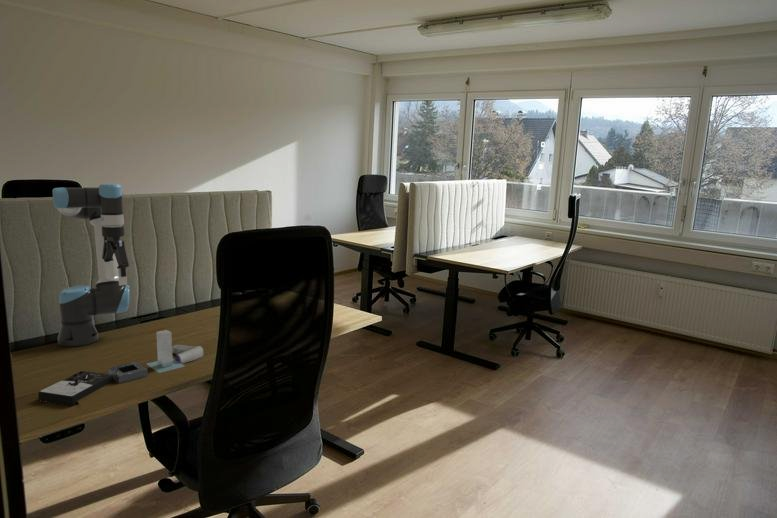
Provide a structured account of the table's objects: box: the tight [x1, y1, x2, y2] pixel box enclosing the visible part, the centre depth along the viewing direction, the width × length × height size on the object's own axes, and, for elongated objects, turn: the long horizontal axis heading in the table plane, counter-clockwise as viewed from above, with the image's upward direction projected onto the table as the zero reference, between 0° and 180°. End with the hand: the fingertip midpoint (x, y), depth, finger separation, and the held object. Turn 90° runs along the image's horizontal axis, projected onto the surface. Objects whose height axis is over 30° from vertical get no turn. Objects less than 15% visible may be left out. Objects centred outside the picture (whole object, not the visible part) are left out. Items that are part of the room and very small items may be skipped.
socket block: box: [108, 361, 149, 384], centre depth 202 cm, size 10×10×4 cm
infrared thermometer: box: [172, 344, 204, 364], centre depth 223 cm, size 5×12×15 cm
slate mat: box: [146, 358, 186, 374], centre depth 213 cm, size 12×10×1 cm
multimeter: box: [37, 370, 115, 407], centre depth 190 cm, size 13×19×5 cm
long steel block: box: [155, 329, 174, 368], centre depth 211 cm, size 4×4×13 cm
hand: (116, 281), depth 212 cm, fingers open, 13 cm apart
